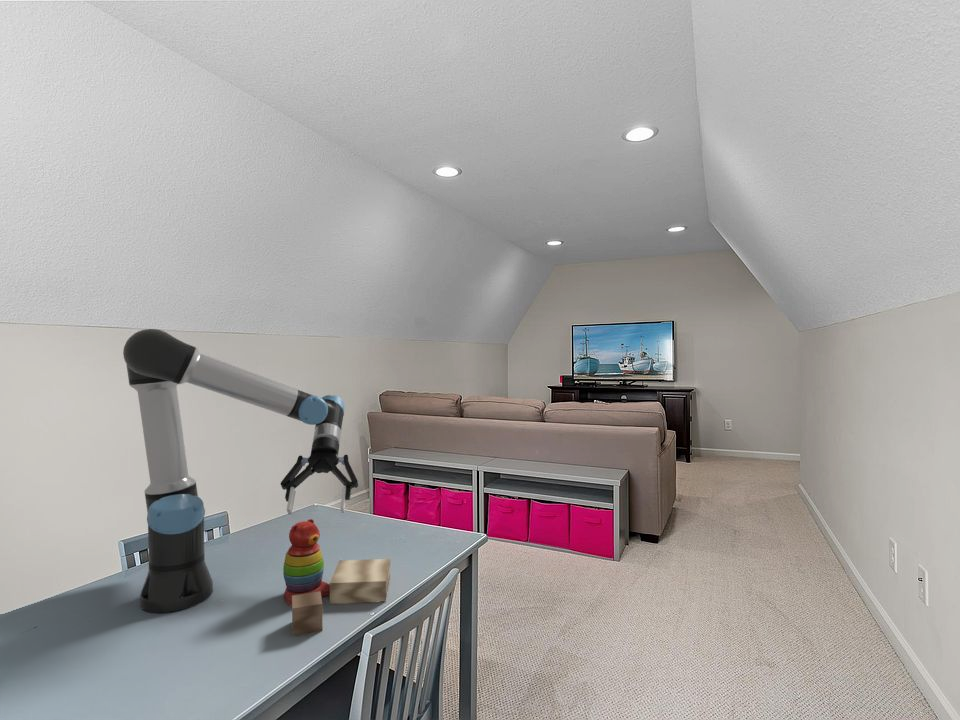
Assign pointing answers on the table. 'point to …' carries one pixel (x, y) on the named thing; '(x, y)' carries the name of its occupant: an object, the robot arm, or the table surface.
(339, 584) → the maple block
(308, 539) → the stacking bear
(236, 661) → the table surface
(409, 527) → the table surface
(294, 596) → the walnut cube
